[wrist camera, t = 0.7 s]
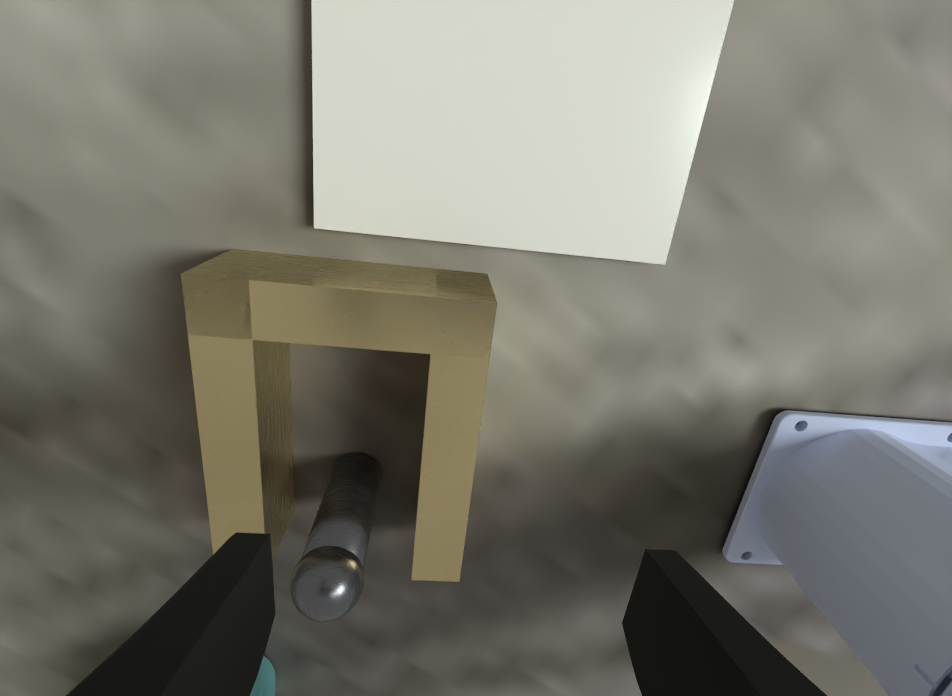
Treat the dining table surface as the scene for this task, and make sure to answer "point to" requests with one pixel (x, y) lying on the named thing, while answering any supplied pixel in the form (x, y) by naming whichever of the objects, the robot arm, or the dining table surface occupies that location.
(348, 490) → the post
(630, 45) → the coaster
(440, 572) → the c link
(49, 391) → the dining table surface
